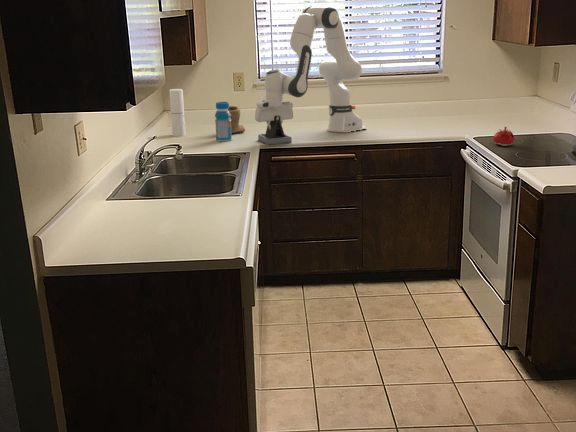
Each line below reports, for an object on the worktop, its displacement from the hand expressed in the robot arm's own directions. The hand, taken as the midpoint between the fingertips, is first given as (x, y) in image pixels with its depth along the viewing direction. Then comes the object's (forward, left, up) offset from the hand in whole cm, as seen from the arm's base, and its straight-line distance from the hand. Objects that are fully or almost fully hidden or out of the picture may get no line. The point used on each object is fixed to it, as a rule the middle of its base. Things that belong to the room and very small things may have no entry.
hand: (274, 129), depth 333 cm
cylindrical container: (+41, -40, -7) cm, 58 cm away
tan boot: (+12, -32, -7) cm, 35 cm away
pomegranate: (-98, +61, -7) cm, 115 cm away
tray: (0, 0, -7) cm, 7 cm away
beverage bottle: (+23, -15, -7) cm, 28 cm away
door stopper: (0, 0, -5) cm, 5 cm away
